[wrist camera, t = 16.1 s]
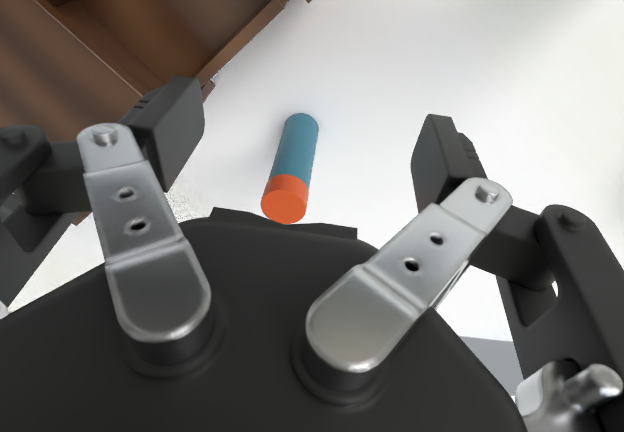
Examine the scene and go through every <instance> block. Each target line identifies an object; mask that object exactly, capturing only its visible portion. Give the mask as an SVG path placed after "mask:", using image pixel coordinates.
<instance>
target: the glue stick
mask: <svg viewBox="0 0 624 432" xmlns="http://www.w3.org/2000/svg"><path fill="white" fill-rule="evenodd" d="M317 136H318V125H317V123H316V121H315V120H314V119H313V118H312V117H311V116H309V115H307V114H302V113H299V114H295V115H292V116H291V117H290V118H289V119H288V120H287V121H286V124H285V127H284V130H283V134H282V137H281V140H280V143H279V147H278V150H277V153H276V156H275V160H274V163H273V166H272V169H271V173H270V176H269V179H268V182H267V184H266V187H265V190H264V193H263V197H262V200H261V209H262V211H263V213H264V214H265V215H266V216H267V217H268V218H269V219H271V220H273V221H275V222H278V223H282V224H291V223H295V222H297V221H299V220H300V219H302V218H303V216H304V215H305V212H306V207H307V200H308V191H309V185H310V179H311V172H312V166H313V160H314V154H315V148H316V142H317Z"/></svg>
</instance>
